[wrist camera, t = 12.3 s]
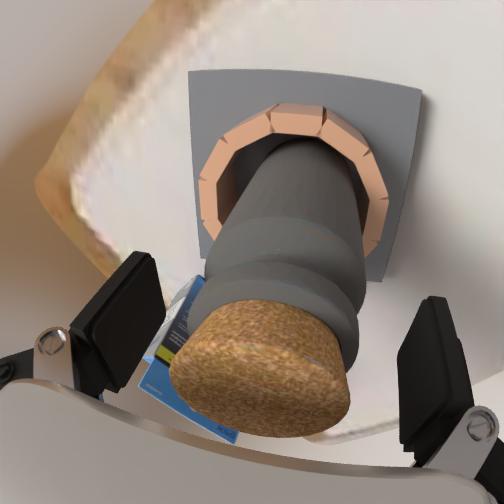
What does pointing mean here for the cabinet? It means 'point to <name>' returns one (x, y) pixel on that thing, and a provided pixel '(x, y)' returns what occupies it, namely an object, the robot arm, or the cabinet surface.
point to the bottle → (279, 301)
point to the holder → (302, 126)
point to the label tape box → (164, 351)
